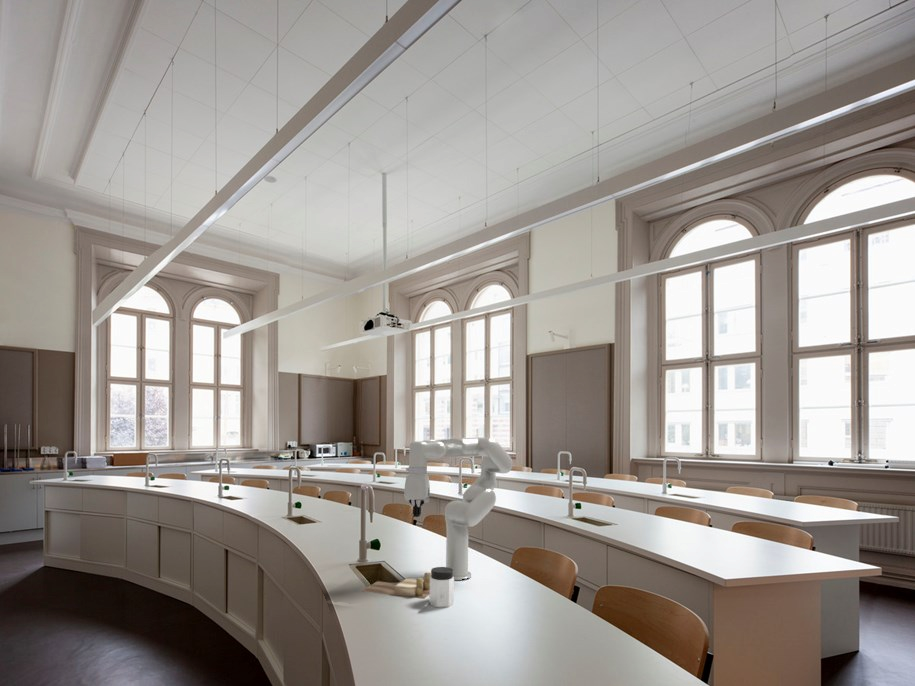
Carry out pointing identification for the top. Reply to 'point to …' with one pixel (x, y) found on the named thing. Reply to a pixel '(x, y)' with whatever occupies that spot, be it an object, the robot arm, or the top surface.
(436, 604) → the jar
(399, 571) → the top surface
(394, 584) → the board
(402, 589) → the cream rectangular slab
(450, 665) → the top surface
